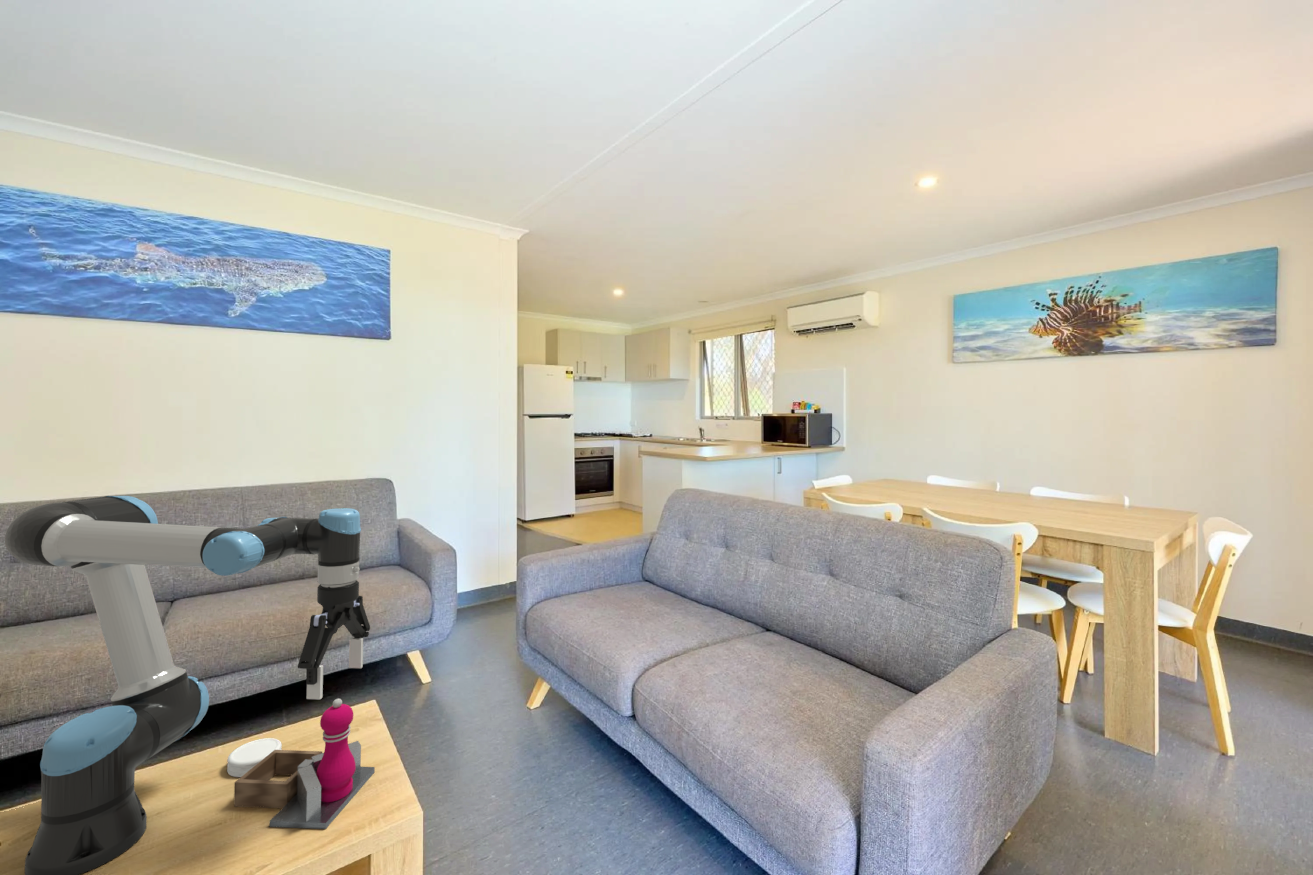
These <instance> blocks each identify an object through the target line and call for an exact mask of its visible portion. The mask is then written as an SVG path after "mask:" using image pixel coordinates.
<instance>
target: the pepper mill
mask: <svg viewBox="0 0 1313 875" xmlns="http://www.w3.org/2000/svg"><path fill="white" fill-rule="evenodd" d="M353 720H354V710H353V709H352V707H351V706H350V705H348V704H346V703H343V700H342V699H341V698H336V699H334V700H333V701H332V705H331V706H330V707H328V708H327V709H326V710H324V712H323V713H322V715H321V717H320V720H319V721H320V722H319V725H320V728H321V730H322V732H323V733H322V741H323V742H324V745H325V746H324V752H323V753H324V754H323V757H322V760H321V762H320V764H319V766H318V769H317V772H316V776H317V778H318V780H319V782H320V785H321V801H322V802H334V801H337V800H340V799H342V798H343V797H345V796H347V795H348V794H349V793H350V792H351V790H352V788H353V779H352V776H353V774H354V772H355V769H356V766H355V760H354V757H353V755H352V753H351V751H350V749H349V746H348V744H349V736H350V735H351V724H352V722H353Z"/></svg>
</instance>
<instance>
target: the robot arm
mask: <svg viewBox="0 0 1313 875" xmlns="http://www.w3.org/2000/svg"><path fill="white" fill-rule="evenodd" d="M361 531H362V527H361V514H360V512H359V511H358V510H357V509H355V508H349V507H348V508H347V507H345V508H344V507H341V508H328V509H324V510H321V511H320V512H319V514H318V517H317V518H311V517H310V518H309V517H308V518H307V517H305V518H304V517H287V516H280V517H269V518H265V519H263V520H262V521H261V522H260V523H259V524H258V525H255V526H251V527H247V528H246V527H243V528H240V527H239V528H237V527H222V526H221V527H220V526H203V525H185V524H171V523H170V524H169V523H168V524H166V523H159V522H158V517H157V514H156V512H155V511H154V509H153V508H152V506H151V505H149V504H148V503H147V502H145V501H144V500H142V499H139V498H137V497H135V496H131V495H105V496H99V497H98V496H97V497H91V498H83V499H77V500H67V501H63V502H61V501H60V502H50V503H46V504H42V505H38V506H35V507H32V508H29V509H28V510H26V511H24V512H23V513H21V514H20V515H18V516H17V517H16V518H15V519H13V520H12V521H11V522H10V524H9V525H8V527H7V529H6V531H5V534H4V544H5V547H6V550H7V552H8V553H9V554H10V556H12V557H14V558H15V559H16V560H18V561H21V563H25V564H28V565H33V566H44V567H63V568H64V567H66V568H67V567H70V568H71V571H72V572H76V573H78V574H80V575H83V576H85V580H86V582H87V586H88V588H89V593H90V595H91V598H92V603H93V606H94V608H95V609H94V610H95V611H96V615H97V618H98V622H99V625H100V629H101V632H102V636H103V639H104V642H105V646H106V649H107V650H106V651H107V653H108V656H109V659H110V663H111V667H112V670H113V673H114V676H115V680H116V682H117V686H118V687H117V689H116V691H114V693H113V695H112V696H111V698H110V703H111V706H109V705H108V706H105V707H101V708H97V709H95V710H93V711H91V712H86V713H83V714H80V715H79V716H76V717H74V718H72V719H70V720H69V721H67V722H66V723H64V724H62V725H61V726H59V727H57V728H56V729H55V730H54V731H53V732H52V733H51V734H50V735H49V736H48V737H47V739H46V741H44V744H43V748H42V755H41V760H40V762H39V767H40V776H41V778H40V780H41V784H40V786H41V787H40V788H41V792H40V793H41V796H40V797H41V799H40V800H41V802H40V803H41V804H40V806H41V808H40V810H41V812H40V824H39V826H38V828H37V831H36V833H35V837H34V839H33V843H32V846H31V847H30V849H29V850H28V852H27V854H26V856H25V860H24V875H81V874H84V873H86V872H88V871H89V872H90V871H92V870H94V869H96V868H98V867H100V866H103V865H105V864H107V863H108V862H110V861H112V860H113V859H115V858H117V857H118V856H120V855H122V854H123V853H125V852H127V851H128V850H129V849H130V848H131V847H132V846H134V845H135V844H136V843H137V842H139V841H140V839H141V838H142V837H143V835H144V834H145V832H146V830H147V817H148V816H147V811H146V810H145V809H144V807H143V805H142V803H141V800H140V798H139V797H138V796H139V795H138V794H137V792H136V791H135V774H136V773H135V770H136V768H137V767H138V766H140V765H141V764H143V763H144V762H146V761H147V760H149V759H150V758H151V757H153V756H155V755H157V754H158V753H159V752H161V751H162V750H164V749H166V748H167V747H168V746H170V745H171V744H173V743H174V742H177V741H179V740H180V739H182V738H183V737H185V736H186V735H187V734H188V733H190V731H191V730H193V729H195V728H196V727H197V726H198V725H199V724H200V723H201V721H202V720H203V718H204V717H205V716H206V714H207V712H208V710H209V705H210V695H209V691H208V688H207V686H206V684H205V683H204V682H203V681H199V678H197V677H195V676H190V675H188V673H187V669H185V668H182V667H179V666H176V665H175V664H174V661H173V657H172V654H171V650H170V647H169V644H168V640H167V636H166V633H165V632H166V631H165V629H164V627H163V623H162V619H161V616H160V613H159V609H158V605H157V602H156V599H155V596H154V592H153V588H152V585H151V582H150V579H149V574H148V572H147V568H146V566H158V567H159V566H160V567H177V568H178V567H180V568H198V569H207V570H208V571H210V572H212V573H213V574H215V575H217V576H221V577H223V576H224V577H225V576H233V575H236V574H243V573H247V572H248V571H251V570H252V569H255V568H257V567H261V566H263V565H265V564H269V563H271V562H274V561H277V560H280V559H282V558H285V557H289V556H293V555H317V579H316V580H317V584H319V585H318V586H317V590H316V591H317V596H316V598H317V599H316V602H317V604H319V605H320V606H321V607H322V610H321V613H320V614H312V615H311V616H310V622H309V628H308V632H307V635H306V638H305V641H304V645H303V647H302V651H301V652H300V653H301V654H300V656H299V660H298V663H297V664H298V665H297V669H304V670H306V679H305V681H306V700H321V699H322V698H323V696H324V694H323V690H324V688H323V685H324V665H322V664H321V663H322V662H323V659H324V656H325V655H326V652H327V650H328V647H329V645H330V643H331V640H332V638H333V636H334V635H335V634H336V633H337V632H338V629H340V628H341V627H342V626H343V627H345V629H346V630H347V631H348V633H349V634H350V635H351V636H352V637H350V638H349V640H348V642H349V643H348V645H349V646H348V651H349V652H348V669H362V668H363V664H364V663H363V662H364V638H368V637H369V635H370V632H369V631H370V630H371V625H370V622H369V619H368V615H367V613H366V609H365V607H364V602H363V601H364V599H363V595H359V593H360V582H359V581H358V580H359V578H360V547H361V546H360V545H361Z"/></svg>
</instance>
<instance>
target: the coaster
mask: <svg viewBox="0 0 1313 875" xmlns="http://www.w3.org/2000/svg"><path fill="white" fill-rule="evenodd" d="M282 746H283V745H282V742H281V740H279V739H277V738H273V737H267V738H264V737H263V738H260V739H255V740H252V741H249V742H245V743H244V744H242V745H240V746H238V747H237V748H235V749H234V750H232V752H230V753H229V755H228V756H227V769H226V772H227V773H228V775H229V776H231V777H232V778H233V777H234V778H240V777H242V776H243V775H244V774H245V773H247V772H248V771H249V770H250V769H252V768H253V767H254V766H255V765H257V764H258V763H259V762H260V761H261V760H263V759H264V758H265V757H266V756H268V755H269V754H270V753H271V752H273V751H274V750H283V749H282Z"/></svg>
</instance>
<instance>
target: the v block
mask: <svg viewBox="0 0 1313 875" xmlns="http://www.w3.org/2000/svg"><path fill="white" fill-rule="evenodd" d="M348 746H349V749H350V751H351V753H352V755H353V757H354V760H355V766H356V769H355V772H354V774H353V776H352V779H353V788H352V790H351V792H350V793H349V794H348V795H347V796H345V797H343V798H342V799H340V800H337V801H334V802H322V801H321V785H320V782H319V780H318V778H317V776H316V772H317V769H318V766H319V764H320V762H321V760H322V757H323V754H324V752H322V754H319V755H316V756H313V757H311V760H308V759H305V760H304V761H303V762H302V763H301V764H300V765H299V766H298V771H297V795H295V796H294V797H293V798H292V799H291V800H290V801H289V802H288V803H287V804H286V805H285V806H284V807H283V808H280V810H279V811H278V812H277V813H276V814H274V815H273V817H272V818H271V819H270V820H269V828H286V829H287V828H288V829H290V828H291V829H311V830H312V829H315V830H316V829H317V830H318V829H319V830H326V829H327V828H328V827H329V826H330V825H331V824H332V823H333V821H334V820H335V819H336V818H337V817H338V815H339V814H340V813H341V812H342V811H343V810H344V809H345V807H346V806H348V804H349V802H350V801H351V800H352V799H353V798H354V797H355V796H356V795H357V793H358V792H359V791H360V790H361V789H362V788H363V787H364V785H366V783H367V782H368V781H369V779H370V778H371V777H372V776H373V775H374V774H375V770H376V769H375V768H376V767H375V766H362V764H361V760H362V758H361V757H362V753H361V752H362V745H361V743H360V742H359V740H356V741H353V742H351V743H348Z"/></svg>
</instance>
